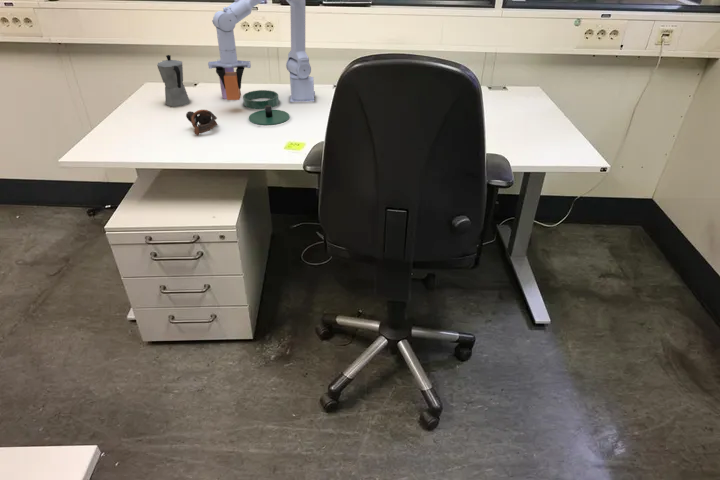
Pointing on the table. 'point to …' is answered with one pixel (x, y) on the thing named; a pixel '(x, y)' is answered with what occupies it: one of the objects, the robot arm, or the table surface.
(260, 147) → the table surface
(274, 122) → the tin lid
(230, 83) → the juice carton
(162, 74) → the coffeepot
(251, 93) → the lunch tin
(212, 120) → the pottery mug
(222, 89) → the beverage can
